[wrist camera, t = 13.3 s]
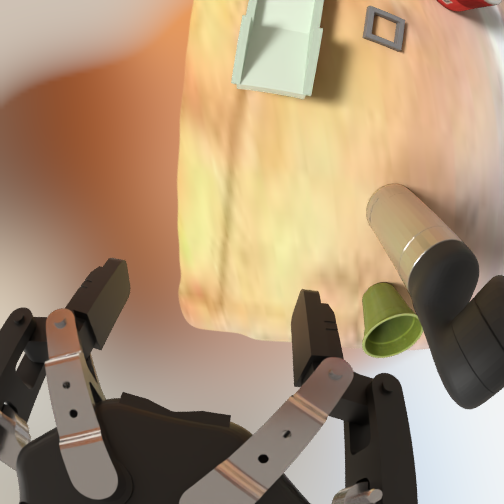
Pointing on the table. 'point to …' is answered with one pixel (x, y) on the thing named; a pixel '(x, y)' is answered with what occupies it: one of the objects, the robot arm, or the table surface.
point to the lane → (279, 47)
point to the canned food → (467, 4)
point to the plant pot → (388, 322)
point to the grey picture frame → (369, 36)
